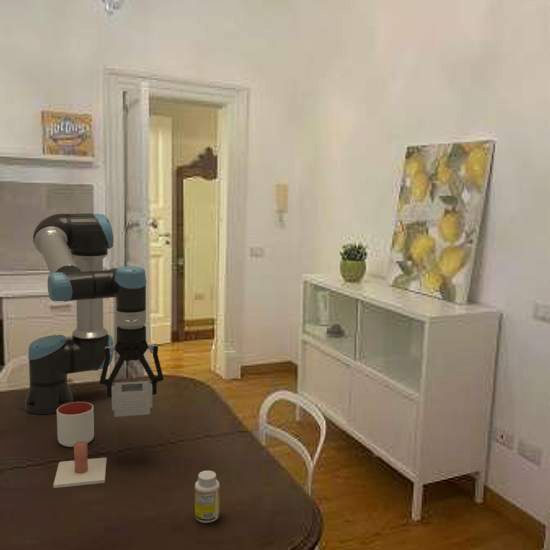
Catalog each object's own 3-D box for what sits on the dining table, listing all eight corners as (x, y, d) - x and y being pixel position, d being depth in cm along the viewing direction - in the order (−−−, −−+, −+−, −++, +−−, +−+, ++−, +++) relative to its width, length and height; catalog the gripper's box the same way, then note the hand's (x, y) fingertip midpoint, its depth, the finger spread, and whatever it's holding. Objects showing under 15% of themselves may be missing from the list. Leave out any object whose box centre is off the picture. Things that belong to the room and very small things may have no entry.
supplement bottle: (207, 507, 128) (208, 465, 127) (224, 516, 125) (225, 474, 123) (189, 517, 124) (189, 474, 122) (206, 527, 120) (206, 483, 119)
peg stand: (59, 464, 146) (58, 436, 145) (106, 460, 149) (105, 432, 148) (53, 488, 134) (52, 457, 133) (104, 482, 138) (104, 452, 136)
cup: (82, 450, 154) (81, 416, 153) (50, 446, 156) (49, 413, 155) (100, 435, 164) (99, 403, 162) (70, 431, 166) (69, 400, 164)
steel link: (115, 403, 151) (115, 382, 150) (148, 401, 153) (148, 380, 152) (114, 416, 142) (114, 394, 141) (150, 414, 145) (149, 392, 144)
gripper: (86, 330, 138) (88, 415, 141) (174, 327, 143) (174, 409, 147) (88, 323, 145) (90, 404, 149) (172, 320, 151) (172, 399, 154)
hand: (132, 406), depth 148 cm, fingers closed on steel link, 9 cm apart
